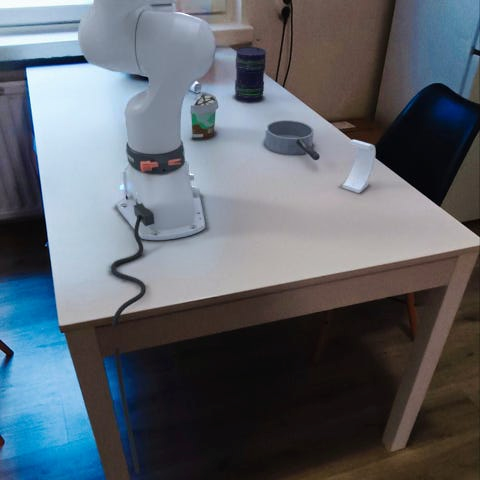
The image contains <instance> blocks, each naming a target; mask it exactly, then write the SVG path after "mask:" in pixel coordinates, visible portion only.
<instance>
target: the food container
mask: <svg viewBox="0 0 480 480" xmlns="http://www.w3.org/2000/svg"><path fill="white" fill-rule="evenodd" d="M200 95H201V96H200V97H199V98H198V99H197V100H196V101H195V103H194V104H193V105H192V104H190V111H189V112H190V117H191V119H190V120H191V135H192V140H196V141H199V140H200V141H201V140H207V139H211V138H213V136H214V135H215V127H216V126H215V125H216V112H217V110H218V108H219V102H218V99H217V97H216V96H215V95H214V94H212V93H209V92H204V91H201V94H200Z"/></svg>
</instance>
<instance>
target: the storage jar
mask: <svg viewBox="0 0 480 480" xmlns="http://www.w3.org/2000/svg"><path fill="white" fill-rule="evenodd" d="M255 40H256V41H257V42H260V41H261V39H260V38H256V39H255ZM266 55H267V51H266V49H264V48H261V47H258V46H257V47H256V46H242V47H239V48H236V50H235V74H236V75H235V81H234V99H235V100H237V101H239V102H242V103H247V104H248V103H249V104H251V103H260V102H261V101H263V99H264V96H263V95H264V90H265V81H264V80H265V79H264V77H265V70H266V61H267V59H266V58H267V56H266Z"/></svg>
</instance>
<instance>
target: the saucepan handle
mask: <svg viewBox="0 0 480 480" xmlns="http://www.w3.org/2000/svg"><path fill="white" fill-rule="evenodd" d="M297 144H298V145H299V146H300V147H301V148H302V149H303V150H304V151H305V152H306V154H307V155H308V156H309V157H310V158H311V159H312V160H314V161H318V160H319V159H320V157H321V156H320V154H319V153H318V152H317V150H315V149H314V148H313V147H310V146H309V145H308V144H307V143H306V142H305V141H304V140H303V139H301V138H300V139H298V140H297Z"/></svg>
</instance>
